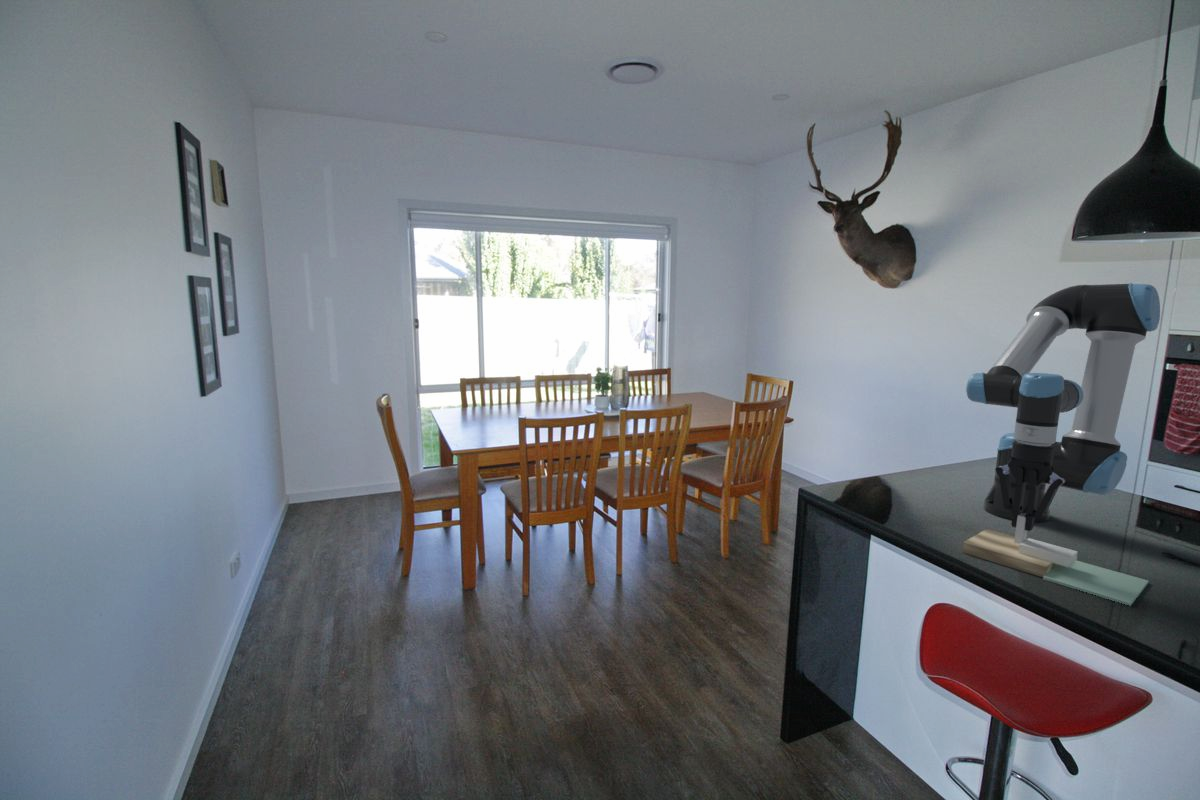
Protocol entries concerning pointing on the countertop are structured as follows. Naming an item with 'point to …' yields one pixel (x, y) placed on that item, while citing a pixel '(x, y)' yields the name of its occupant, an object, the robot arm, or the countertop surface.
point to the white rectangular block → (1048, 552)
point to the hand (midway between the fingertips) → (1019, 542)
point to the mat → (1098, 581)
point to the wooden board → (1004, 552)
